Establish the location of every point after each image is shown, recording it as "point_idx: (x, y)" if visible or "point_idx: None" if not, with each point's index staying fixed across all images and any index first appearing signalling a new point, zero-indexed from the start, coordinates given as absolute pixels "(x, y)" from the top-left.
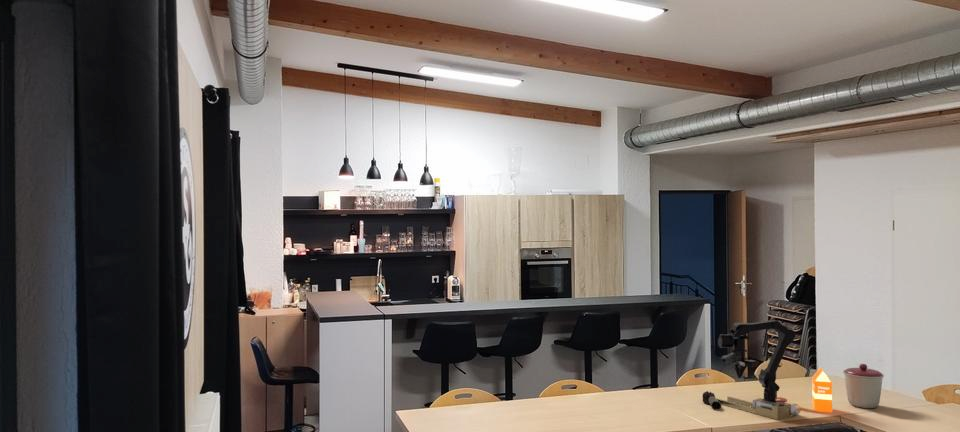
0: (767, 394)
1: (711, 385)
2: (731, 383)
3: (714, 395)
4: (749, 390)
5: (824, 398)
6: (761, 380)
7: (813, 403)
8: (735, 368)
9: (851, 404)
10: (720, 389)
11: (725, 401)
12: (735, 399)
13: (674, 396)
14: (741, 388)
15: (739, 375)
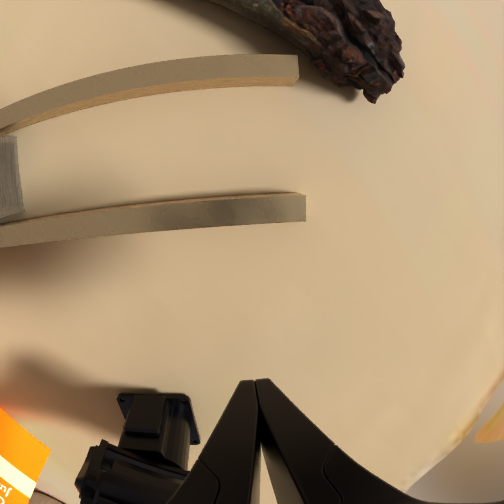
0: (128, 422)
1: (495, 360)
2: (448, 438)
3: (325, 48)
4: (359, 453)
5: None
6: (152, 495)
7: (21, 445)
8: (361, 497)
9: (58, 502)
10: (457, 357)
11: (201, 59)
12: (217, 199)
13: (483, 33)
14: (398, 441)
15: (231, 407)
